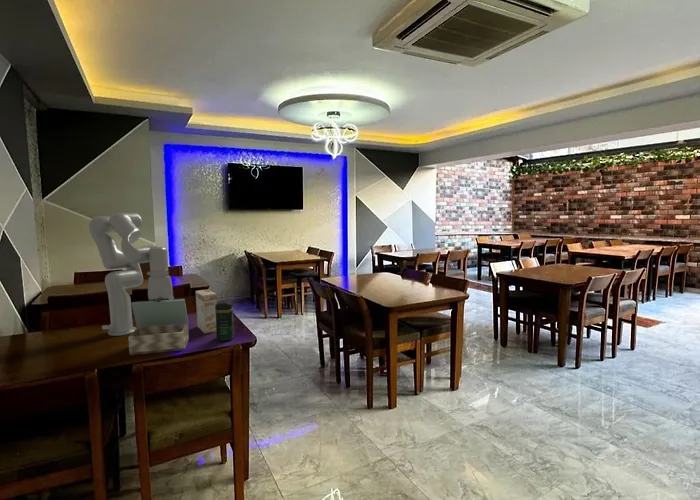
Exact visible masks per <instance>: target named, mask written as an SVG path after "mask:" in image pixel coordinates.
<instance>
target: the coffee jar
mask: <svg viewBox="0 0 700 500" xmlns="http://www.w3.org/2000/svg"><path fill="white" fill-rule="evenodd" d="M215 313H216V332H215V333H216V341H220V342H227V341H232V340H233V339H234V336H235V330H234V325H235V324H234V304H233V301H232V300H230V299H221V300H219V301H218V302H217V303H216V305H215Z"/></svg>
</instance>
